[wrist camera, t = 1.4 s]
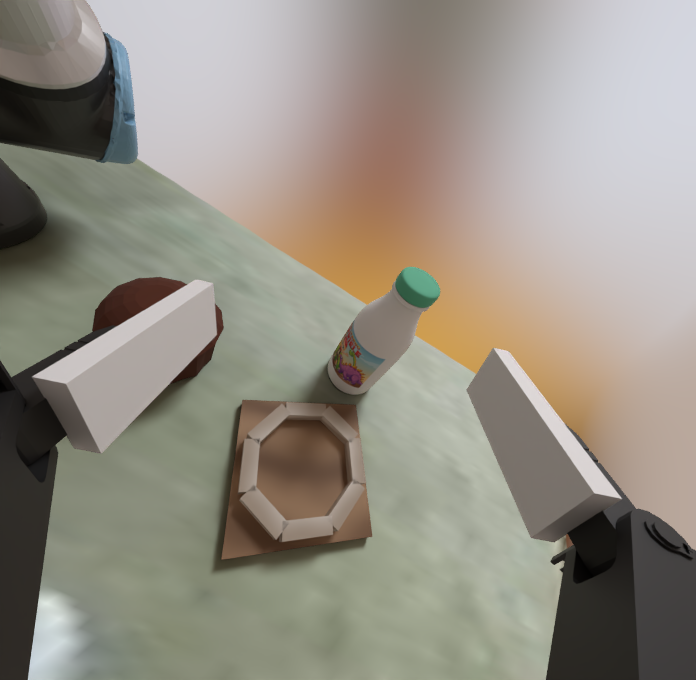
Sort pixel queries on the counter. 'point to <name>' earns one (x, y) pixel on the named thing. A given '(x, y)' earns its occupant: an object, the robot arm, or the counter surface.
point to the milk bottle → (382, 332)
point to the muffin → (140, 297)
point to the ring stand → (296, 478)
